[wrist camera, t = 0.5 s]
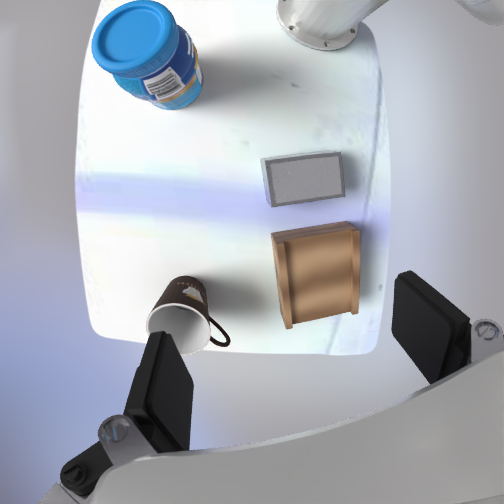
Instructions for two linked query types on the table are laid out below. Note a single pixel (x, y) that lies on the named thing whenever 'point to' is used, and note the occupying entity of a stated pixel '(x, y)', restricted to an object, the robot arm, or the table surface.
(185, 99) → the beverage bottle
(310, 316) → the stand
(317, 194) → the block
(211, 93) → the table surface
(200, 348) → the coffee mug
